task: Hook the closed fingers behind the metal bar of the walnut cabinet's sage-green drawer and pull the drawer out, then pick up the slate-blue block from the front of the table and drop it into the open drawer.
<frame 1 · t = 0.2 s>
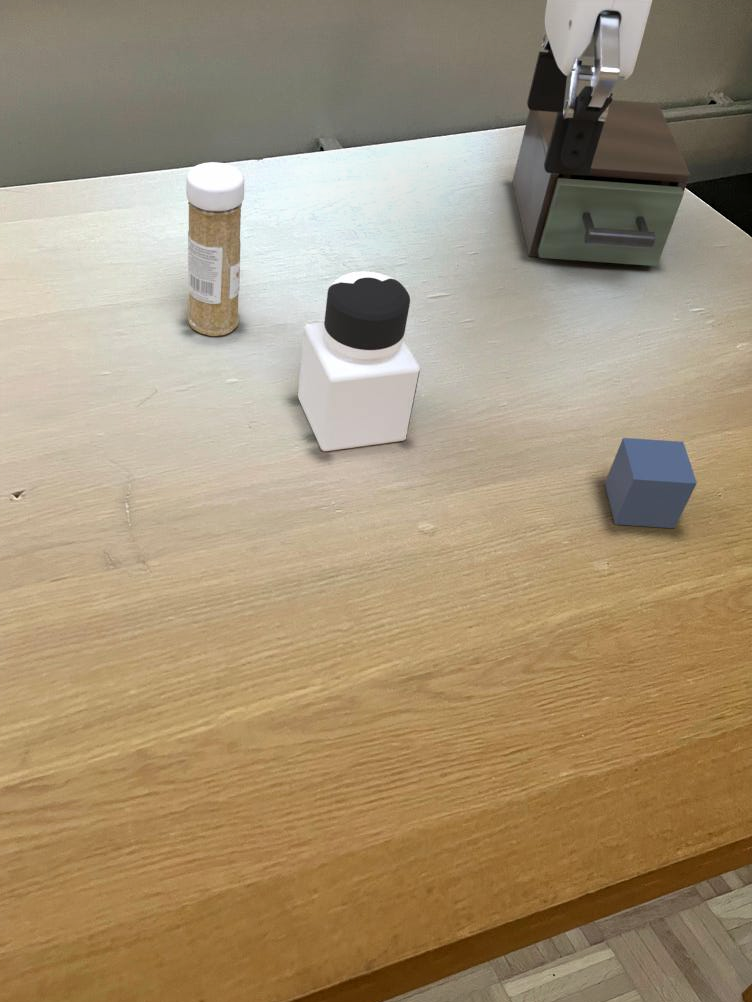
hand: (555, 139, 78), 19 cm above the table, tool pointing down, fingers open, 9 cm apart
block: (638, 505, 81), on the table
drawer: (601, 201, 101), point 5 cm above the table, slide at 0.5 cm
cabinet: (581, 222, 107), on the table
medicine bottle: (350, 421, 85), on the table
spice jar: (213, 324, 93), on the table
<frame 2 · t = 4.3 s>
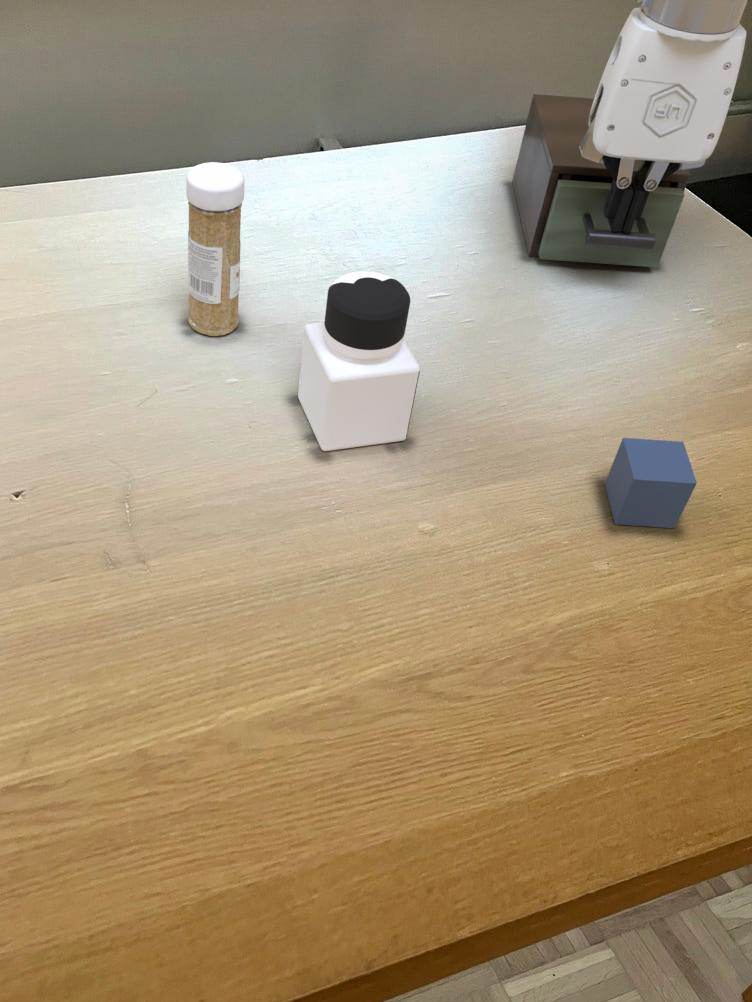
hand: (617, 224, 95), 6 cm above the table, tool pointing down, fingers closed
drawer: (602, 202, 101), point 5 cm above the table, slide at 0.7 cm, touching gripper
everything else where it was.
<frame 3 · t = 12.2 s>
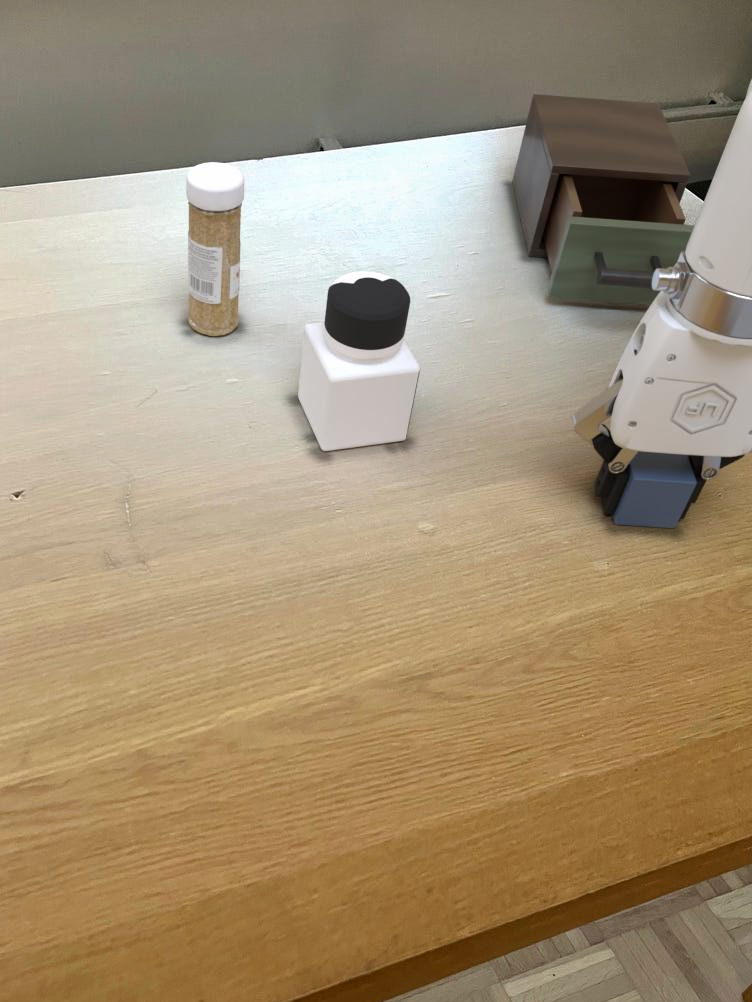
hand: (640, 502, 80), 0 cm above the table, tool pointing down, fingers closed on block, 4 cm apart
block: (638, 505, 81), on the table, touching gripper
drawer: (613, 238, 97), point 5 cm above the table, slide at 7.2 cm
everything else where it was.
when the fingers open (7 cm above the table, at t = 19.8 s): block stays where it is, resting on drawer.
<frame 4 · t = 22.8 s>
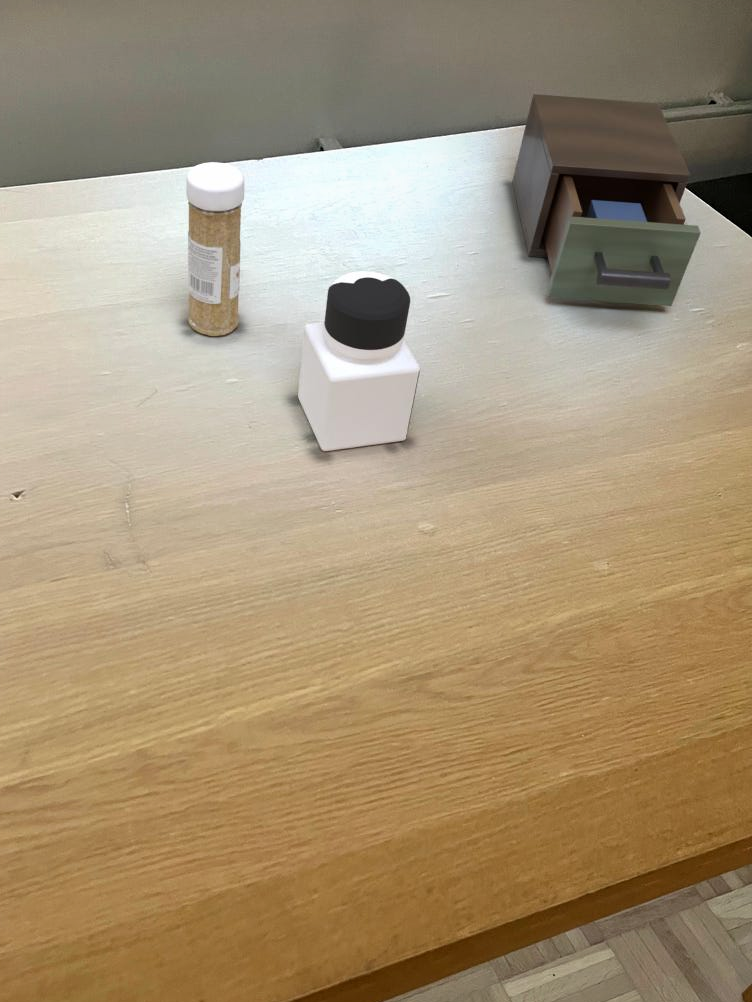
block: (605, 260, 99), point 2 cm above the table, touching drawer
drawer: (613, 238, 97), point 5 cm above the table, slide at 7.2 cm, touching block
everything else where it was.
at the end: drawer slide at 7.2 cm; block inside the target area in the drawer (3.3 cm from its centre), point 2.0 cm above the cabinet's base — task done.
